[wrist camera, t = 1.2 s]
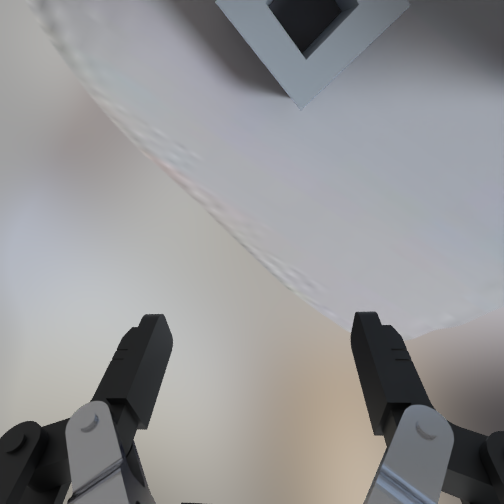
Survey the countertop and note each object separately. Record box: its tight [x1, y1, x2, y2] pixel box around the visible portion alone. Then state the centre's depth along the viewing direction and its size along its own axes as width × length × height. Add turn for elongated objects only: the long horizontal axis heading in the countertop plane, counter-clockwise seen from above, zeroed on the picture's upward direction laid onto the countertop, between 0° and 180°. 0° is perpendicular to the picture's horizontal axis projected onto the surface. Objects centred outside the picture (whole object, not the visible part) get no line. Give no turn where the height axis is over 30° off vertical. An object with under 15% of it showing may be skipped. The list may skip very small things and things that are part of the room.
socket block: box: [215, 0, 410, 110], centre depth 23 cm, size 10×10×6 cm
